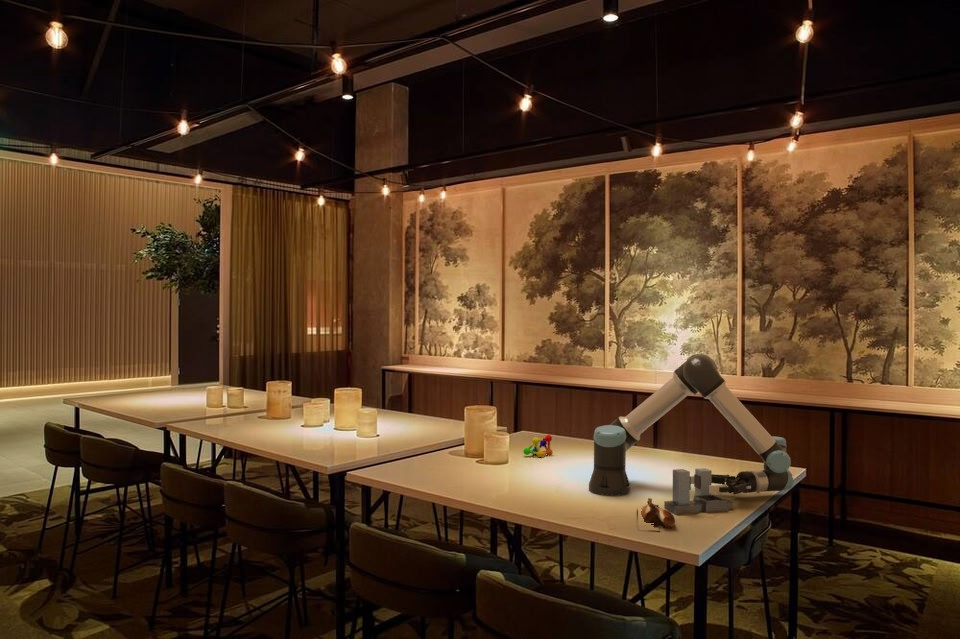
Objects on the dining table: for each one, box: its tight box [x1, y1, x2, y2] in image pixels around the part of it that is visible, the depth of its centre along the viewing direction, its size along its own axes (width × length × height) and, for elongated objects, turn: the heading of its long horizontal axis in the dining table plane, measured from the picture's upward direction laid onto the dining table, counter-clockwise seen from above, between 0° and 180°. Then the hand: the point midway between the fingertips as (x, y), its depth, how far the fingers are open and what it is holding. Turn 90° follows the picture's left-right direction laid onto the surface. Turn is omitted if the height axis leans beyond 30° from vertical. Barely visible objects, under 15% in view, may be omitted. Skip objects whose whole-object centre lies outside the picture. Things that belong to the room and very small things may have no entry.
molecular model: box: [522, 434, 554, 458], centre depth 317 cm, size 11×10×15 cm
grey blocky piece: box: [663, 468, 734, 516], centre depth 230 cm, size 22×8×14 cm, turn 104°
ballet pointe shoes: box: [641, 497, 676, 529], centre depth 219 cm, size 14×7×28 cm
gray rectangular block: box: [693, 467, 713, 496], centre depth 241 cm, size 5×4×11 cm
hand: (698, 484), depth 241 cm, fingers open, 13 cm apart
